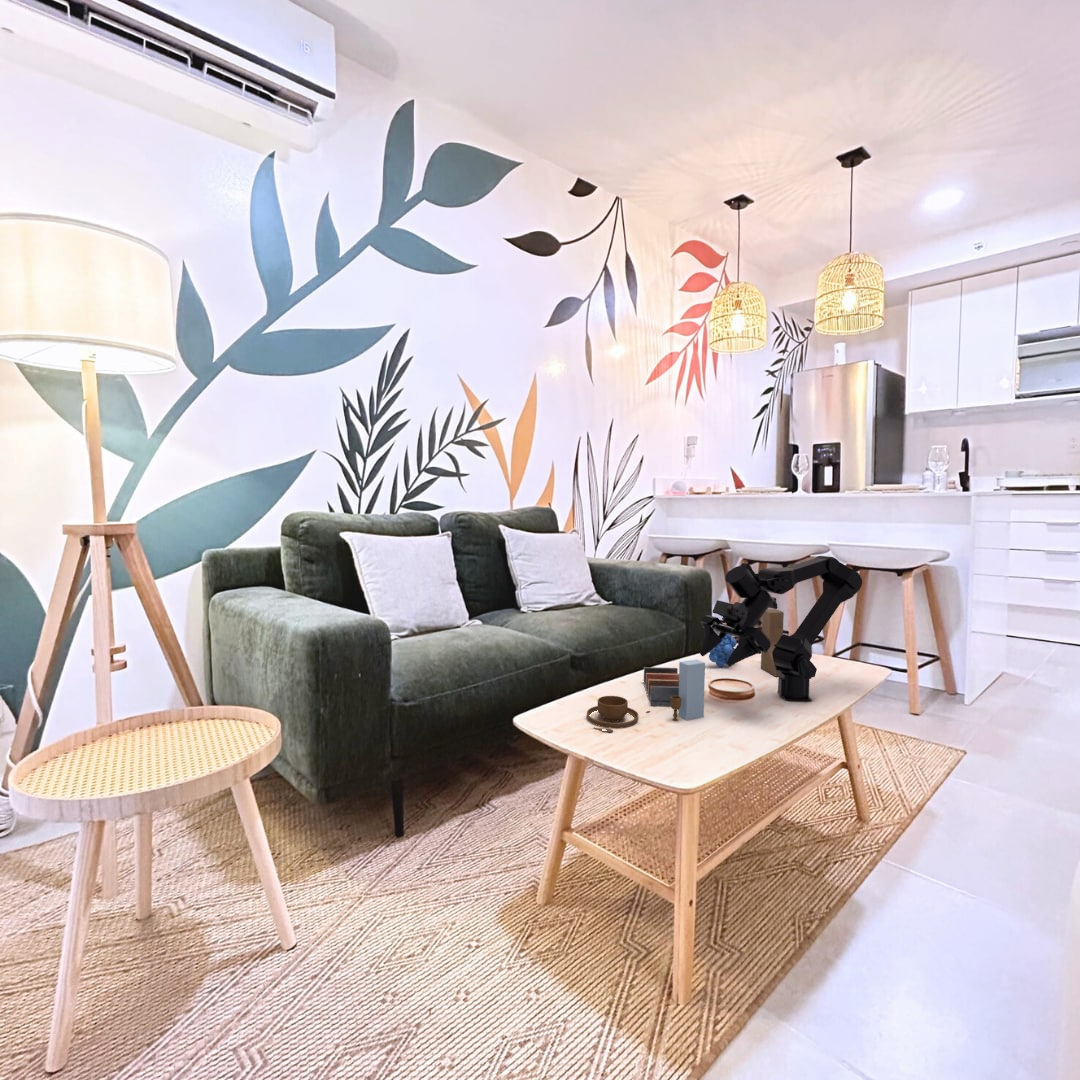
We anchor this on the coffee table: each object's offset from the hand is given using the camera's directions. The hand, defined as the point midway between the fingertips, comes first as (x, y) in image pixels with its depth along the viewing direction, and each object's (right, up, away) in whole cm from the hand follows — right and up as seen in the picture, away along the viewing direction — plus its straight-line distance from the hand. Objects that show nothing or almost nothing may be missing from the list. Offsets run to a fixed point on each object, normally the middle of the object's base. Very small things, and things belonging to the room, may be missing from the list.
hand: (714, 659), depth 143 cm
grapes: (+14, -10, +39) cm, 42 cm away
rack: (-9, -12, +14) cm, 21 cm away
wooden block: (+28, -11, +34) cm, 45 cm away
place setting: (-21, -14, -5) cm, 26 cm away
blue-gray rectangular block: (-6, -13, -2) cm, 14 cm away
